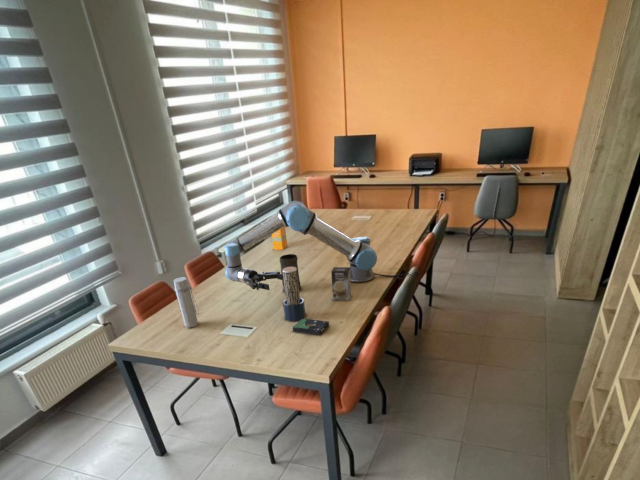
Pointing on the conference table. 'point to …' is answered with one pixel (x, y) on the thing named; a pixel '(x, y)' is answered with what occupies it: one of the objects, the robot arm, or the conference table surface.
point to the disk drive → (311, 326)
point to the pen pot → (294, 311)
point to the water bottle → (186, 302)
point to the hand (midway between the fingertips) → (277, 282)
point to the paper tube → (291, 285)
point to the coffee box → (341, 283)
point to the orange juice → (279, 239)
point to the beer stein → (288, 261)
